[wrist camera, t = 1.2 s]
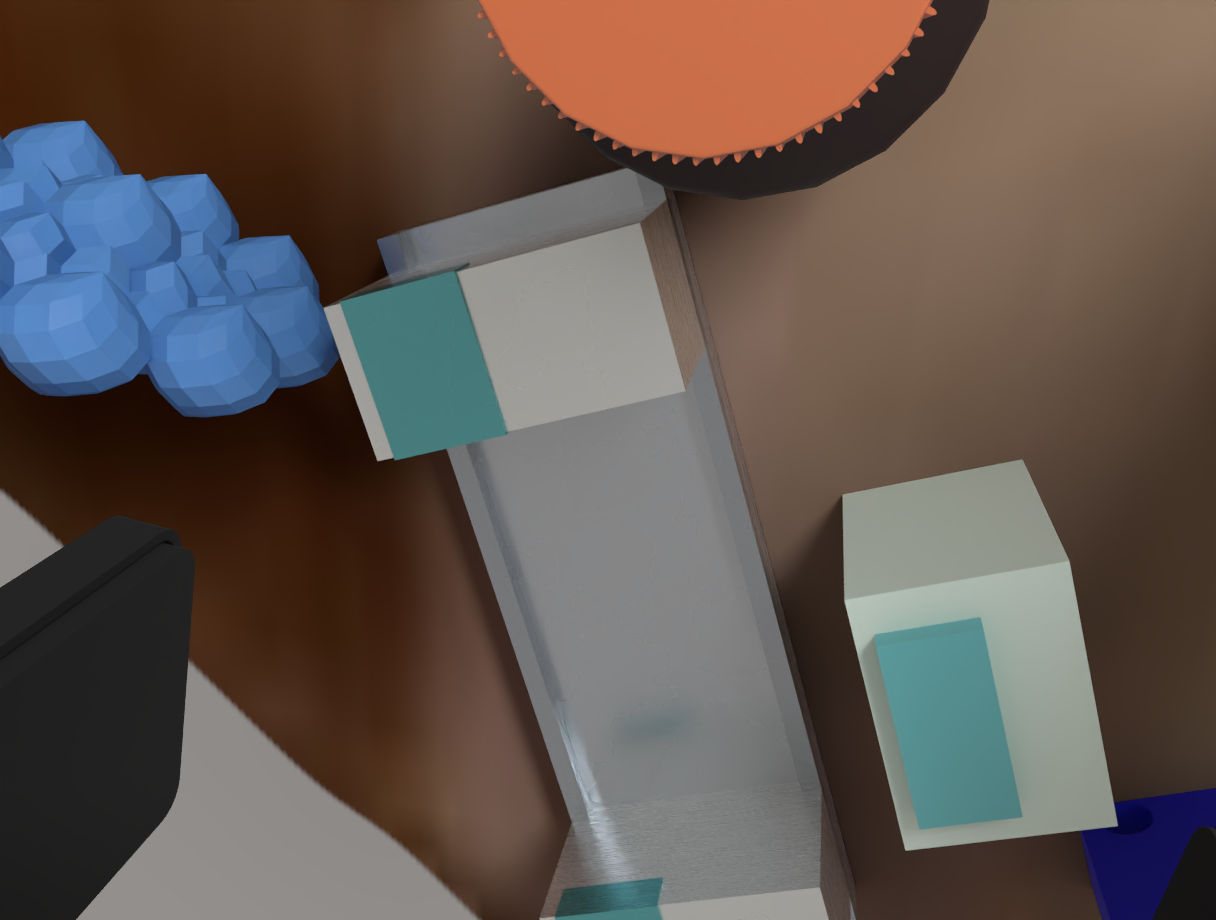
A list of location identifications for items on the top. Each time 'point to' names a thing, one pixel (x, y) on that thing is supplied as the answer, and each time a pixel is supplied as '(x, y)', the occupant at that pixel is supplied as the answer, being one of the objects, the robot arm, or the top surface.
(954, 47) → the bottle
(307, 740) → the top surface
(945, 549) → the block
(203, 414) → the grapes
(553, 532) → the rail
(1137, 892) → the blue mounting bracket
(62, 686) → the robot arm
